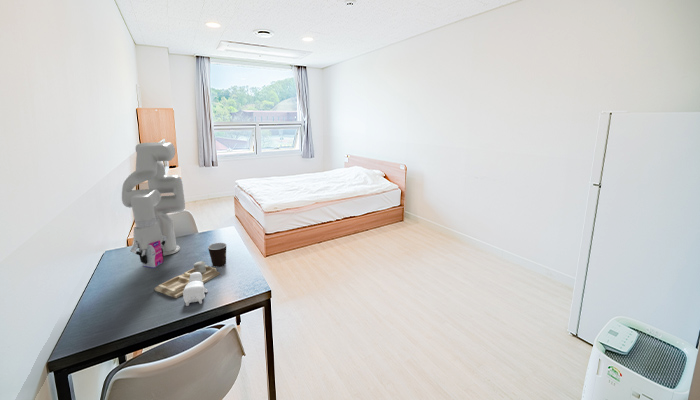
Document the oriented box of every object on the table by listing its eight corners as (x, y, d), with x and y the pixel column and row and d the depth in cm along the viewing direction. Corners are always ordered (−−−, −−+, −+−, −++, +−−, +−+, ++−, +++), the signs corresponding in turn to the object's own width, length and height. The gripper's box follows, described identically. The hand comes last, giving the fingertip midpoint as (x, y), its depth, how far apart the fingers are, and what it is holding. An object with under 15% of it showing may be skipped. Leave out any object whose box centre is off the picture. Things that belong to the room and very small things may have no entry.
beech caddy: (154, 290, 138) (152, 277, 137) (199, 268, 158) (198, 256, 157) (176, 298, 132) (174, 285, 131) (219, 274, 152) (218, 262, 151)
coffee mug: (222, 268, 158) (219, 250, 155) (206, 267, 159) (204, 248, 157) (234, 258, 169) (233, 241, 166) (220, 257, 170) (218, 239, 168)
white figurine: (206, 307, 131) (208, 279, 143) (203, 294, 126) (205, 266, 138) (184, 311, 129) (187, 282, 140) (180, 298, 124) (184, 269, 135)
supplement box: (154, 268, 139) (150, 245, 136) (142, 267, 141) (138, 243, 137) (164, 262, 145) (160, 239, 141) (153, 260, 146) (148, 238, 142)
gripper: (159, 214, 145) (165, 249, 151) (119, 227, 130) (127, 266, 136) (170, 217, 142) (176, 253, 148) (130, 231, 127) (138, 270, 133)
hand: (152, 259), depth 142 cm, fingers closed on supplement box, 6 cm apart
